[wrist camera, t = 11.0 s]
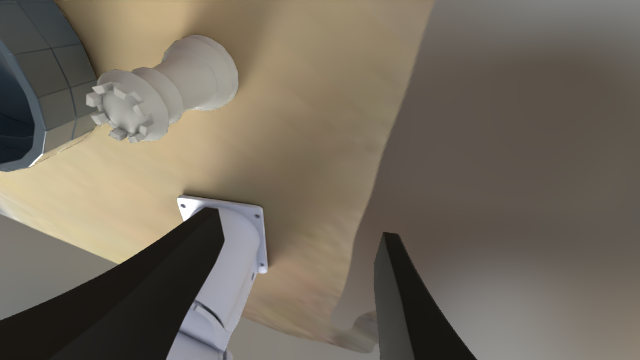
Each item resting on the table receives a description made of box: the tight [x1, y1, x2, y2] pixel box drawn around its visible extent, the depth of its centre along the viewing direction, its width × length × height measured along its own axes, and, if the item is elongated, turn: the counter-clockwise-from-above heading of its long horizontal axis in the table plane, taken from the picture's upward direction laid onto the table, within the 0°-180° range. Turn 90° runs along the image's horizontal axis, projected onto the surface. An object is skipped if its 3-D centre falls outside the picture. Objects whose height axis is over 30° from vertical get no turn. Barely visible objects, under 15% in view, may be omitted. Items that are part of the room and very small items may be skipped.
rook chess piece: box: [86, 34, 238, 143], centre depth 14 cm, size 4×4×8 cm
